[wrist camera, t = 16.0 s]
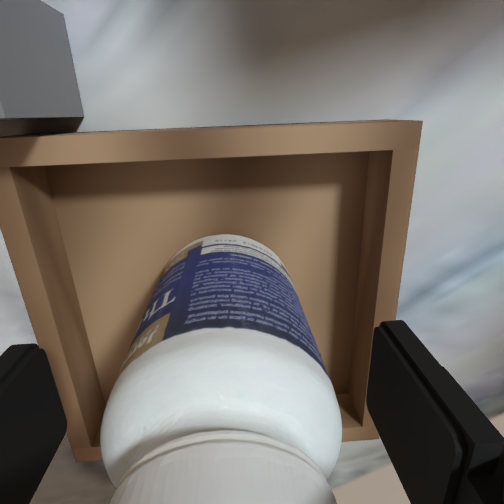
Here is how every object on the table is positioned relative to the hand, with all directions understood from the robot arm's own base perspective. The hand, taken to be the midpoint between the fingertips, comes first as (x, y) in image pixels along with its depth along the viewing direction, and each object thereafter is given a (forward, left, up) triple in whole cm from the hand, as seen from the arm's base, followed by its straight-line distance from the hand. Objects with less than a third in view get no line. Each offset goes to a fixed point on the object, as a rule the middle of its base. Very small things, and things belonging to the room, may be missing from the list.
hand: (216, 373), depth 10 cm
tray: (0, 0, -5) cm, 5 cm away
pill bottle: (0, 0, -5) cm, 5 cm away
